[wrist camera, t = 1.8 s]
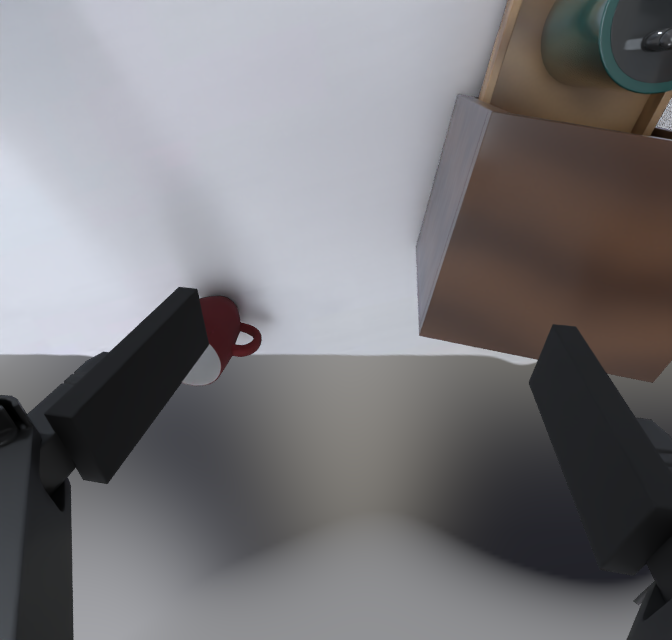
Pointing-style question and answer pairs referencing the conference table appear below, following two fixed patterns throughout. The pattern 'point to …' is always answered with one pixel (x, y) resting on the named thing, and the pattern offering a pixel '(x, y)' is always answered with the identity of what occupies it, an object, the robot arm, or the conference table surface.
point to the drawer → (548, 94)
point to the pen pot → (610, 44)
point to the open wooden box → (549, 238)
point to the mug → (221, 340)
